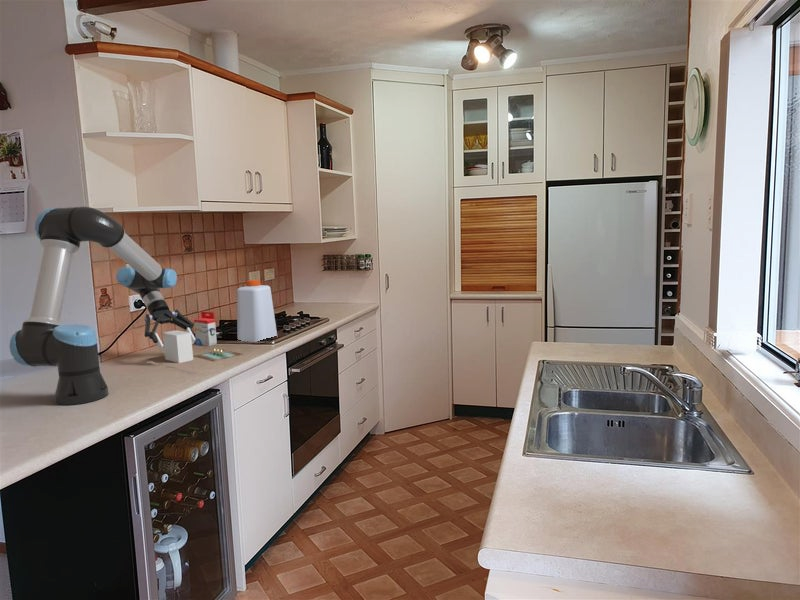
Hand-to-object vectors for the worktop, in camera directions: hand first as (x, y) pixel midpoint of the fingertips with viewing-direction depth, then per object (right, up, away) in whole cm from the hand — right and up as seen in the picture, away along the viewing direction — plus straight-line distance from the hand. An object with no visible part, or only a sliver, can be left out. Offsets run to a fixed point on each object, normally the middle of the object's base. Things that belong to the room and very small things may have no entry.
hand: (178, 345), depth 234 cm
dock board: (+14, -6, +5) cm, 16 cm away
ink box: (+1, -2, +33) cm, 33 cm away
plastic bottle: (+23, -1, +35) cm, 42 cm away
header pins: (+14, -4, +5) cm, 16 cm away
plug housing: (+1, -7, 0) cm, 7 cm away
